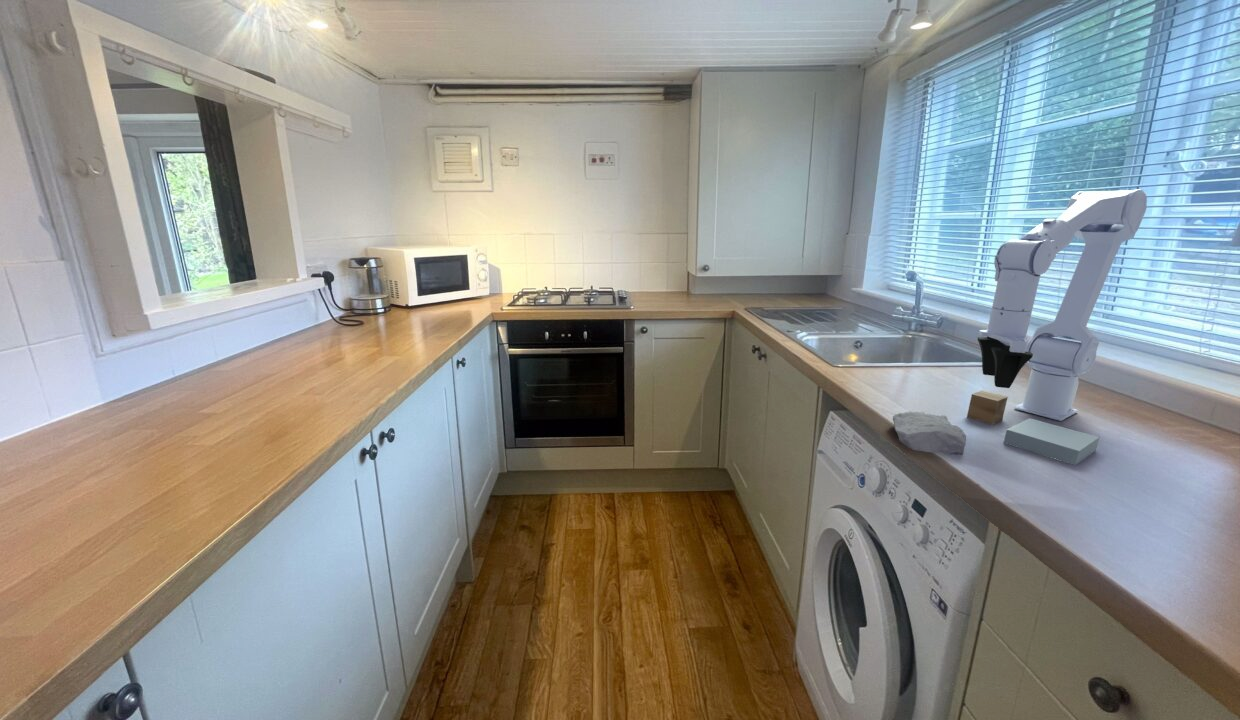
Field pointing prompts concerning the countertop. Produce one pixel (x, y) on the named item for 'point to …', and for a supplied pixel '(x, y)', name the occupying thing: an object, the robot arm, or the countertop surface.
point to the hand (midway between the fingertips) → (995, 380)
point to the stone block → (929, 433)
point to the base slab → (1052, 440)
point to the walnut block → (987, 407)
